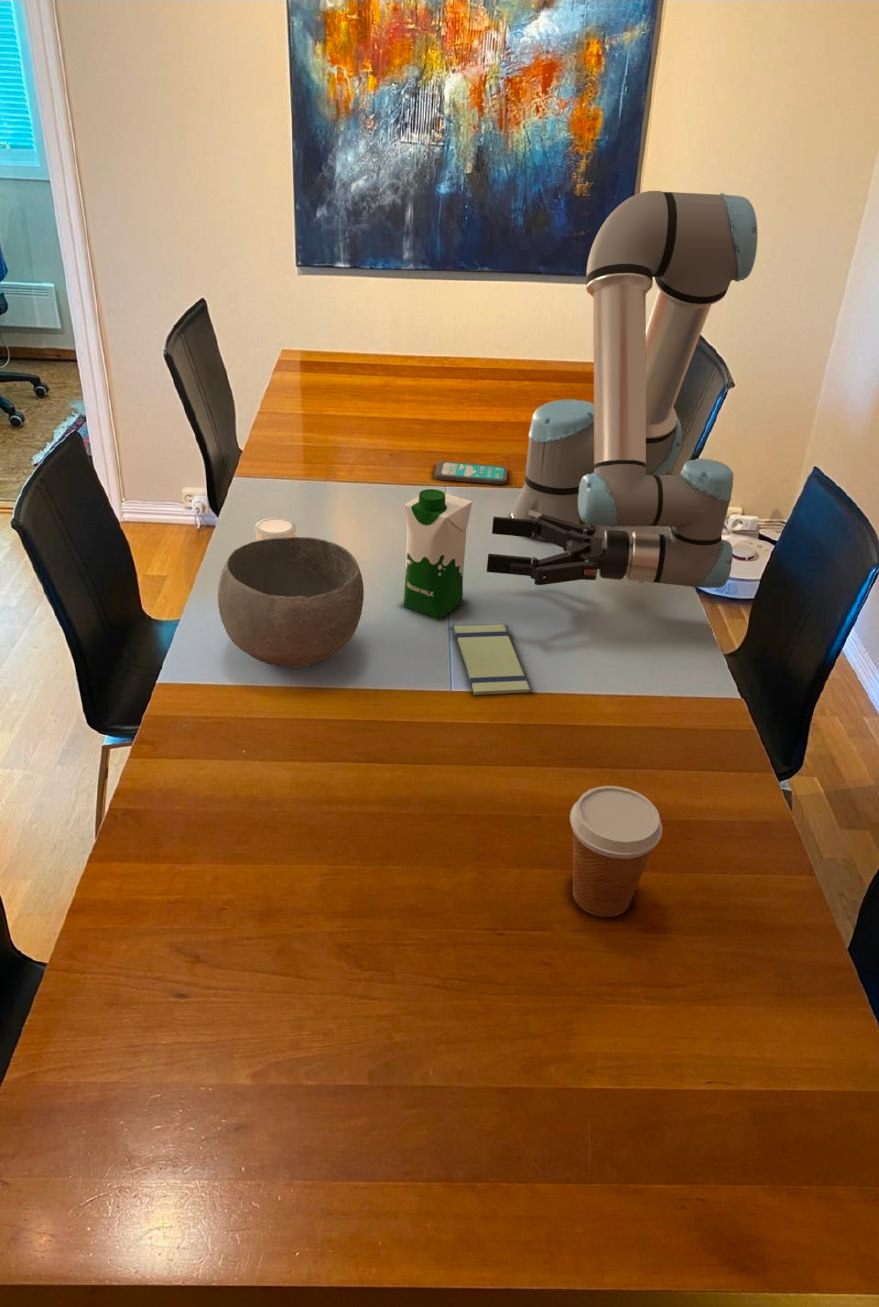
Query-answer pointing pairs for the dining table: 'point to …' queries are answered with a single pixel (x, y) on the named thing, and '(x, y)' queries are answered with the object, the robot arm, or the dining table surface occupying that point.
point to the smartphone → (471, 472)
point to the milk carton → (435, 552)
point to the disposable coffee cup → (611, 847)
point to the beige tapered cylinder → (274, 528)
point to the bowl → (290, 599)
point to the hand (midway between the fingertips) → (489, 543)
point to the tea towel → (490, 660)
